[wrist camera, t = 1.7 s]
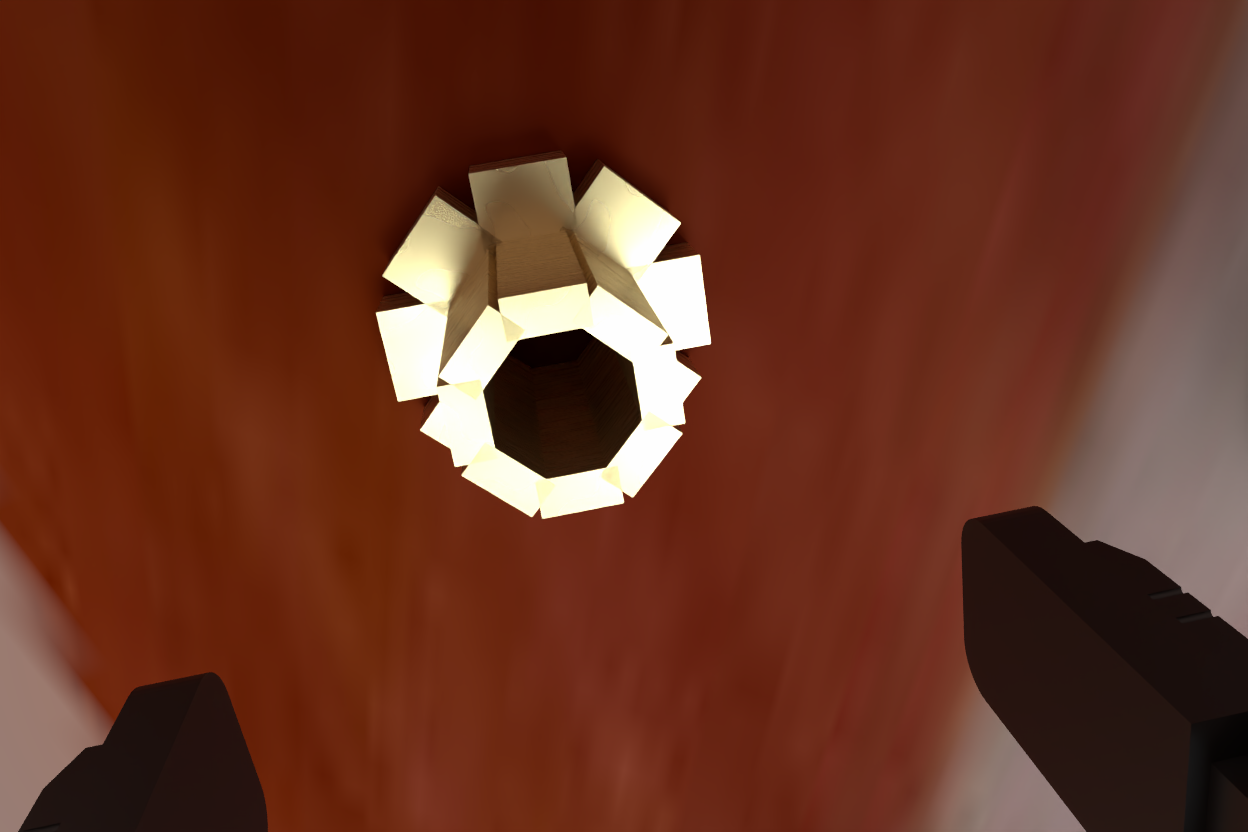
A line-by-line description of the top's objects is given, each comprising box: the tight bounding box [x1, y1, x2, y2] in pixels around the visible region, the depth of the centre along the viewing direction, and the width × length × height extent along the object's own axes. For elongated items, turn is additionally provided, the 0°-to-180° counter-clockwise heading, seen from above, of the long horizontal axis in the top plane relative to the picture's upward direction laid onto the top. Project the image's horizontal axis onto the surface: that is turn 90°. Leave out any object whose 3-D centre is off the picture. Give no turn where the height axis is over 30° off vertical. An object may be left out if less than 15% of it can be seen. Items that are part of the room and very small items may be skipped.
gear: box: [376, 150, 711, 519], centre depth 22 cm, size 8×8×7 cm
